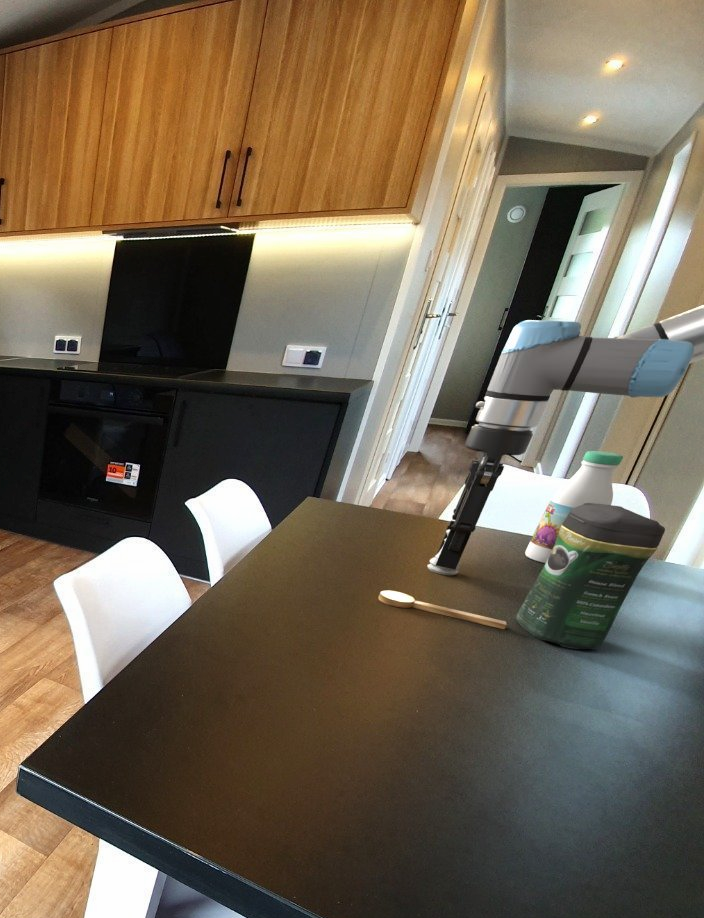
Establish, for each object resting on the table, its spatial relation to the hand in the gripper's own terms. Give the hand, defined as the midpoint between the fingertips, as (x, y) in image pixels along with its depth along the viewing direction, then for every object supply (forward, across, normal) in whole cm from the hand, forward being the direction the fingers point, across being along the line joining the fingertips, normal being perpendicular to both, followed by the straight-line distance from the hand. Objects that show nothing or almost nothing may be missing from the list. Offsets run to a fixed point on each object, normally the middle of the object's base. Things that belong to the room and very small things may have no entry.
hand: (445, 561), depth 110 cm
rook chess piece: (+2, 0, 0) cm, 2 cm away
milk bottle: (+2, -22, +16) cm, 27 cm away
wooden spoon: (+2, +22, -1) cm, 22 cm away
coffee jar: (+2, +20, +13) cm, 24 cm away
